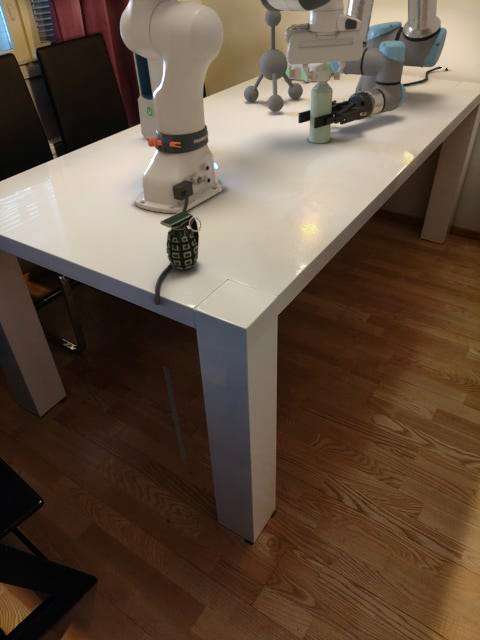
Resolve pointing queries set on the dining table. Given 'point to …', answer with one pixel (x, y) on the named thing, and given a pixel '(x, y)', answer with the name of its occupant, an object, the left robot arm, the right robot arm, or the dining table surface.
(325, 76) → the cap
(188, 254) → the grenade
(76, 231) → the dining table surface
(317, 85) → the bottle
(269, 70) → the molecular model
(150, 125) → the electronic device
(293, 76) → the decorative block
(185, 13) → the left robot arm
